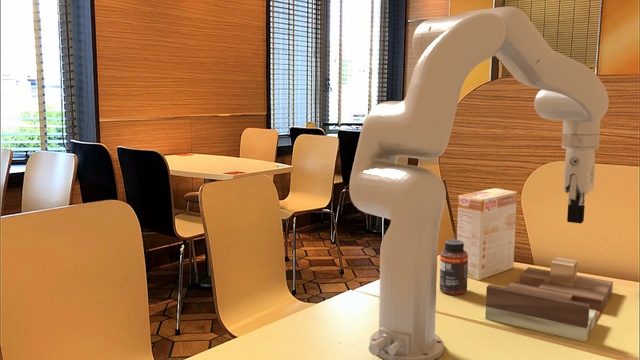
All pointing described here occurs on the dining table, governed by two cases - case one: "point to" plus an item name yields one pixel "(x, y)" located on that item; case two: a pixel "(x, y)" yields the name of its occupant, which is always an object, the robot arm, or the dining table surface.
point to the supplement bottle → (453, 268)
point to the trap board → (549, 304)
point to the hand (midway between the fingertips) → (575, 221)
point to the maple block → (563, 271)
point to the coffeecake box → (487, 231)
